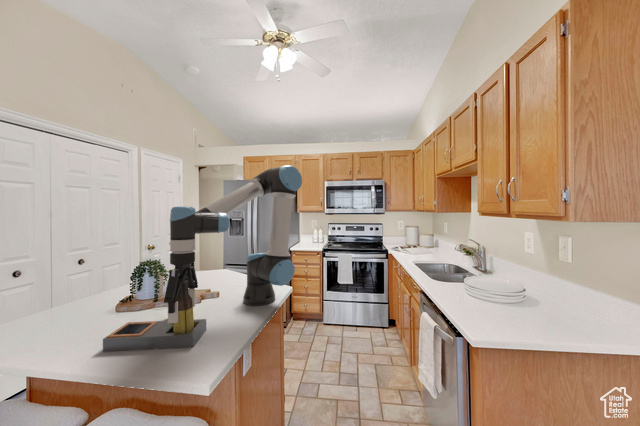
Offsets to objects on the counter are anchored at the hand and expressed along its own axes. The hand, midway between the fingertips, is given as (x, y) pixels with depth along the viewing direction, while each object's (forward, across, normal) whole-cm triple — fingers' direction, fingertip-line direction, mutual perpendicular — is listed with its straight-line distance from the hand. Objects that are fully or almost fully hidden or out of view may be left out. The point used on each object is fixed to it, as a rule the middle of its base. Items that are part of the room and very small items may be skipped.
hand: (182, 314), depth 87 cm
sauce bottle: (+9, 0, 0) cm, 9 cm away
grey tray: (+9, 0, -8) cm, 12 cm away
